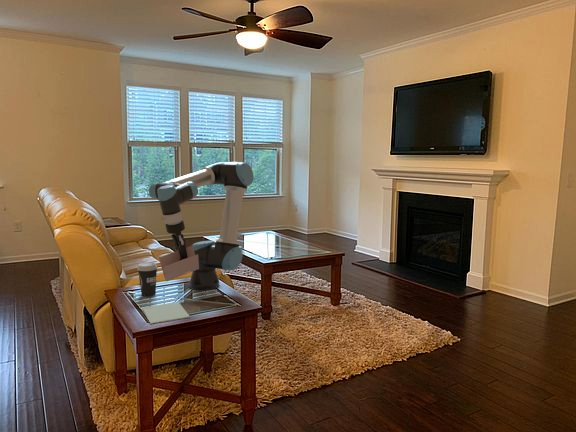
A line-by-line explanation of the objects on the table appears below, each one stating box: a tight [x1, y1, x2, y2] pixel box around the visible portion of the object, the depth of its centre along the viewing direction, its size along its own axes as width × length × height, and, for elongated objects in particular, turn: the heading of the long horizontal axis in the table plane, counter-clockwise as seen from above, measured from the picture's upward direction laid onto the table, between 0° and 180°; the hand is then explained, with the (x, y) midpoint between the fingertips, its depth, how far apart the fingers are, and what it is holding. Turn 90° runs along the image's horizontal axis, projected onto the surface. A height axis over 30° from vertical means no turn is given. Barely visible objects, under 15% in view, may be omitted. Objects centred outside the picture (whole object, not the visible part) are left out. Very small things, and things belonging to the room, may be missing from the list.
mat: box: [141, 301, 191, 325], centre depth 191 cm, size 20×16×1 cm
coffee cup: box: [136, 261, 159, 297], centre depth 214 cm, size 10×10×15 cm
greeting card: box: [158, 245, 199, 282], centre depth 189 cm, size 11×7×15 cm
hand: (186, 272), depth 194 cm, fingers closed
